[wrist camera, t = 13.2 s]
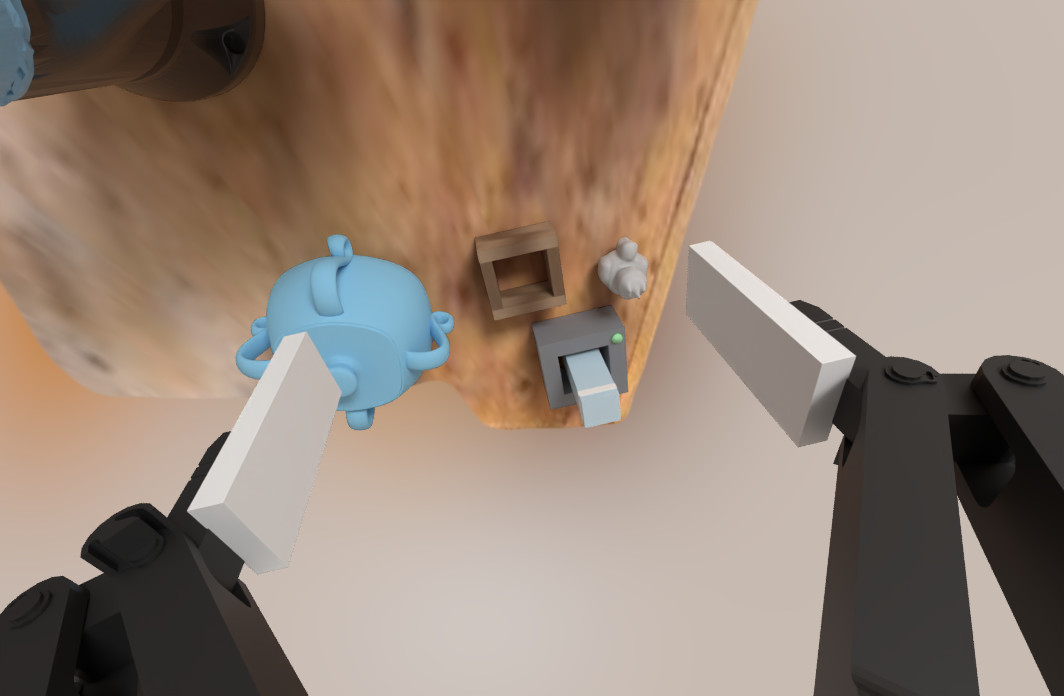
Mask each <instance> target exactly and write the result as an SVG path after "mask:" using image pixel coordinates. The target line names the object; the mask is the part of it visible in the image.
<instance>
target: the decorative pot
mask: <svg viewBox="0 0 1064 696" xmlns="http://www.w3.org/2000/svg"><path fill="white" fill-rule="evenodd" d="M327 243H328V247H329V250H330V253H331V256H326V257H320V258H317V259H313V260H309V261H306V262H304V263H301V264H299V265H297V266H295V267H292V268H290V269H289V270H287V271H286V272H285V273H283V274H282V275H281V276H280V277H279V279H278V280H277V281H276V283H275V285H274V287H273V289H272V291H271V294H270V296H269V301H268V306H267V314H266V317H261V318H258V319H256V320H255V321H254V322H253V323H252V325H251V333H252V335H253V337H252V338H251V339H249V340H248V341H247V342H245V343H244V344H243V345H242V346H241V347H240V348H239V350H238V351H237V354H236V364H237V366H238V368H239V370H240V371H241V372H242V373H243V374H244V375H246V376H248V377H250V378H253V379H259V380H260V379H261V377H262V375H263V373H264V371H265V370H266V368H267V366H268V364H269V362H270V361H271V360H264V361H255V360H254V359H255V358H257V357H258V356H259V355H260V354H261V353H263V352H264V351H265V350H267V349H268V348H269V347H270V346H271V349H272V353H273V355H274V353H275V352H276V350H277V348H278V346H279V344H280V343H281V341H282V339H283V337H284V336H289V335H293V334H298V333H302V332H307V333H308V335H309V336H310V338H311V340H312V342H313V343H314V345H315V347H316V349H317V350H318V352H319V354H320V355H321V357H322V359H323V361H324V362H325V364H326V366H327V367H328V369H329V371H330V373H331V374H332V376H333V378H334V380H335V381H336V383H337V385H338V386H339V388H340V390H341V392H342V393H341V396H340V399H339V403H338V406H337V409H336V411H346V418H347V422H348V425H349V427H350V428H352V429H354V430H365V429H368V428H370V427H371V426H372V423H373V418H374V410H375V407H378V406H381V405H384V404H387V403H389V402H392V401H393V400H395V399H397V398H398V397H399V396H401V395H402V394H403V393H404V392H405V391H406V390H408V389H409V388H410V387H411V386H412V385H413V384H414V383H415V382H416V381H417V379H418V378H419V377H420V375H421V374H422V372H423V371H424V370H430V369H434V368H437V367H439V366H441V365H442V364H444V363H445V362H446V360H447V359H448V357H449V353H450V345H449V341H448V338H447V336H446V335H445V334H448V333H450V332H451V331H452V329H453V327H454V319H453V317H452V316H451V315H450V314H448V313H446V312H442V311H436V312H433V313H432V310H431V306H430V302H429V299H428V296H427V293H426V290H425V288H424V287H423V285H422V283H421V282H420V280H419V279H418V278H417V277H416V276H415V275H414V274H413V273H412V272H410V271H409V270H407V269H406V268H404V267H402V266H400V265H398V264H395V263H392V262H390V261H386V260H382V259H379V258H373V257H368V256H360V255H353V250H352V246H351V243H350V241H349V239H348V238H347V237H346V236H343V235H339V234H335V235H331V236H329V237H328V239H327ZM433 338H434V340H435V341H436V343H437V345H438V346H439V348H437V349H435V350H433V351H431V349H432V342H433Z"/></svg>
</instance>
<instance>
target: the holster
mask: <svg viewBox="0 0 1064 696" xmlns="http://www.w3.org/2000/svg"><path fill="white" fill-rule="evenodd" d="M475 241H476V250H477V255H478V259H479V263H480V267H481V270H482V274H483V278H484V282H485V286H486V289H487V293H488V297H489V301H490V305H491V308H492V312H493V316H494V320H499V319H504V318H508V317H513V316H517V315H522V314H526V313H530V312H535V311H539V310H544V309H548V308H552V307H557V306H561V305H566V304H567V303H566V296H565V289H564V282H563V275H562V268H561V261H560V254H559V247H558V240H557V235H556V233H555V231H554V229H553V227H552V225H551V223H550V221H548V222H543V223H539V224H534V225H530V226H525V227H521V228H516V229H512V230H507V231H503V232H498V233H494V234H489V235H485V236H480V237H476V238H475ZM540 250H543V255H544V261H545V267H546V273H547V279H548V281H543V282H539V283H534V284H530V285H525V286H521V287H516V288H512V289H507V290H503V291H500V289H499V285H498V281H497V277H496V273H495V269H494V265H493V261H495V260H500V259H504V258H509V257H513V256H518V255H522V254H526V253H531V252H535V251H540Z"/></svg>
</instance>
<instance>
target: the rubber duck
mask: <svg viewBox="0 0 1064 696" xmlns="http://www.w3.org/2000/svg"><path fill="white" fill-rule="evenodd" d="M637 249H638V246H637V244H636V243H635V242H633V241H630V240H629V239H628V238H627V237H623V238H621V239H620V240H619V241H618V242H617V245H616V250H613V251H611V252H609V253H608V254H607V255H605V256H602V257H601V258H600V259H599V264H598V275H599V278H600V280H601V281H602V282H603V283H604V284H605V285H606V286H607V287H608V288H609V289H610V290H611V291H612V292H613V293H614V294H620V295H621V297H622V298H624V299H632V298H636V297H637V298H638V299H640V295H641V294H642V293H644V292H645V289H646V286H647V278H646V274H647V270H648V264H649V263H648V260H647V259H646V258H645V257H644V256H642V255H641V254H639V253H638V252H637Z"/></svg>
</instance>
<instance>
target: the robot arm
mask: <svg viewBox="0 0 1064 696" xmlns="http://www.w3.org/2000/svg"><path fill="white" fill-rule="evenodd" d="M264 29H265V11H264V1H263V0H0V106H5V105H7V104H8V103H10V102H11V101H17V100H23V99H29V98H35V97H41V96H48V95H54V94H60V93H66V92H72V91H78V90H84V89H90V88H97V87H103V86H109V85H114V86H117V87H120V88H122V89H125V90H127V91H130V92H133V93H136V94H138V95H141V96H145V97H148V98H153V99H158V100H164V101H175V102H187V101H196V100H202V99H206V98H209V97H213V96H217V95H220V94H222V93H225V92H227V91H229V90H230V89H232V88H234V87H235V86H236V85H238V84H239V83H240V82H241V81H242V80H243V79H244V78H245V77H246V76H247V75H248V74H249V72H250V71H251V70H252V68H253V66H254V65H255V63H256V61H257V59H258V56H259V54H260V50H261V47H262V43H263V38H264ZM686 314H687V316H688V317H689V318H690V319H691V320H692V322H693V323H694V324H695V325H696V326H697V327H698V329H699V330H700V331H701V332H702V334H703V335H704V336H705V337H706V338H707V340H708V341H709V342H710V343H711V344H712V345H713V346H714V348H715V349H716V350H717V351H718V353H719V354H720V355H721V356H722V357H723V358H724V360H725V361H726V362H727V363H728V365H730V367H731V368H732V369H733V370H734V372H735V373H736V374H737V375H738V376H739V378H740V379H741V380H742V381H743V382H744V384H745V385H746V386H747V387H748V388H749V389H750V391H751V392H752V393H753V394H754V395H755V397H756V398H757V399H758V400H759V401H760V403H761V404H762V405H763V406H764V407H765V409H766V410H767V411H768V412H769V413H770V415H771V416H772V417H773V418H774V419H775V420H776V422H777V423H778V424H779V425H780V426H781V427H782V429H783V430H784V431H785V432H786V434H787V435H788V436H789V437H790V438H791V440H792V441H793V442H794V443H795V444H796V445H797V447H801V446H805V445H810V444H814V443H818V442H822V441H826V440H827V439H828V436H829V433H830V430H831V427H832V424H834V425H835V426H836V427H837V428H838V429H839V430H840V431H841V432H842V433H843V434H844V436H843V439H842V442H841V444H840V447H839V450H838V452H837V455H836V458H835V460H834V463H833V464H836V465H838V473H837V483H836V492H835V502H834V510H833V519H832V529H831V538H830V547H829V557H828V566H827V576H826V585H825V594H824V603H823V613H822V623H821V631H820V642H819V650H818V660H817V669H816V679H815V688H814V696H980V695H979V686H978V677H977V668H976V659H975V650H974V641H973V632H972V623H971V615H970V607H969V597H968V588H967V579H966V571H965V561H964V552H963V544H962V535H961V526H960V517H959V508H958V499H957V496H958V498H959V500H960V502H961V504H962V506H963V508H964V511H965V513H966V515H967V517H968V519H969V521H970V523H971V525H972V527H973V530H974V532H975V534H976V536H977V538H978V540H979V542H980V545H981V547H982V549H983V551H984V553H985V555H986V557H987V560H988V562H989V564H990V566H991V568H992V570H993V572H994V574H995V577H996V578H997V581H998V583H999V585H1000V587H1001V589H1002V591H1003V593H1004V596H1005V598H1006V600H1007V602H1008V604H1009V606H1010V608H1011V611H1012V613H1013V615H1014V617H1015V619H1016V621H1017V623H1018V626H1019V628H1020V630H1021V632H1022V634H1023V636H1024V638H1025V640H1026V643H1027V645H1028V647H1029V649H1030V651H1031V653H1032V655H1033V657H1034V660H1035V662H1036V664H1037V666H1038V668H1039V670H1040V672H1041V675H1042V676H1043V679H1044V681H1045V683H1046V685H1047V687H1048V689H1049V691H1050V694H1051V696H1064V375H1063V374H1061V373H1060V372H1059V371H1057V370H1056V369H1054V368H1052V367H1050V366H1048V365H1046V364H1044V363H1042V362H1039V361H1036V360H1032V359H1029V358H1025V357H1017V356H1010V355H1005V356H1004V355H1003V356H993V357H990V358H988V359H985V360H984V362H983V363H982V365H981V366H980V368H979V370H978V372H977V373H976V374H939V373H938V372H937V371H936V370H934V369H933V368H932V367H930V366H928V365H926V364H924V363H922V362H920V361H917V360H912V359H909V358H904V357H885V356H883V355H882V354H881V353H880V352H878V351H877V350H876V349H874V348H873V347H872V346H870V345H869V344H868V343H866V342H865V341H863V340H862V339H861V338H859V337H858V336H857V335H855V334H854V333H853V332H851V331H850V330H849V329H847V328H844V326H843V325H842V324H840V323H839V322H838V321H837V320H833V318H832V317H831V316H830V315H829V314H827V313H826V312H824V311H823V310H822V309H820V308H819V307H817V306H814V305H812V304H809V303H806V302H804V301H801V300H798V301H793V302H787V301H786V300H785V299H784V298H782V297H781V296H780V295H779V294H777V293H776V292H775V291H774V290H772V289H771V288H770V287H769V286H767V285H766V284H765V283H764V282H762V281H761V280H760V279H758V278H757V277H756V276H755V275H753V274H752V273H751V272H750V271H748V270H747V269H746V268H745V267H743V266H742V265H741V264H740V263H738V262H737V261H736V260H735V259H733V258H732V257H731V256H730V255H728V254H727V253H726V252H724V251H723V250H722V249H721V248H719V247H718V246H717V245H716V244H714V243H713V242H712V241H707V242H703V243H698V244H694V245H690V246H689V256H688V277H687V299H686ZM341 393H342V392H341V390H340V388H339V386H338V385H337V383H336V381H335V380H334V378H333V376H332V374H331V373H330V371H329V369H328V367H327V366H326V364H325V362H324V361H323V359H322V357H321V355H320V354H319V352H318V350H317V349H316V347H315V345H314V343H313V342H312V340H311V338H310V336H309V335H308V333H307V332H302V333H298V334H293V335H289V336H284V337H283V339H282V341H281V343H280V344H279V346H278V348H277V350H276V352H275V353H274V355H273V357H272V359H271V361H270V362H269V364H268V366H267V368H266V370H265V371H264V373H263V375H262V377H261V379H260V381H259V382H258V384H257V386H256V388H255V390H254V391H253V393H252V395H251V397H250V399H249V400H248V402H247V404H246V406H245V408H244V409H243V411H242V413H241V415H240V417H239V418H238V421H237V422H236V424H235V426H234V427H233V429H232V431H229V432H225V433H223V434H222V435H221V436H220V437H219V438H218V439H217V440H216V441H215V442H214V443H213V444H212V445H211V446H210V447H209V448H208V449H207V451H206V453H205V454H204V456H203V458H202V459H201V461H200V463H199V467H197V468H196V470H195V471H194V473H193V475H192V476H191V480H190V481H189V482H188V483H187V485H186V486H185V488H184V490H183V492H182V493H181V495H180V497H179V499H178V500H177V502H176V504H175V505H174V507H173V509H172V510H171V512H170V514H169V515H168V517H165V516H164V515H163V514H162V513H161V512H159V511H158V510H157V509H156V508H155V507H153V506H152V505H151V504H150V503H140V504H136V505H133V506H130V507H127V508H125V509H123V510H121V511H120V512H118V513H116V514H114V515H113V516H111V517H110V518H109V519H107V520H106V521H105V522H103V523H102V524H101V525H100V526H99V527H98V528H97V529H96V530H95V531H94V532H93V533H92V534H91V535H90V536H89V537H88V539H87V540H86V542H85V544H84V545H83V547H82V550H81V558H82V559H84V560H85V561H87V562H88V563H90V564H92V565H93V566H94V567H96V568H98V569H99V570H101V571H102V572H104V573H103V574H101V575H99V576H97V577H95V578H93V579H91V580H89V581H87V582H85V583H82V584H80V585H77V584H76V583H74V582H73V581H71V580H69V579H68V578H66V577H64V576H59V577H51V578H49V579H47V580H44V581H42V582H40V583H37V584H36V585H35V586H33V587H31V588H30V589H28V590H27V591H25V592H23V593H22V594H21V595H19V596H18V597H17V598H16V599H14V600H13V601H12V602H11V603H10V604H9V605H8V606H7V607H6V608H5V609H4V611H3V612H2V613H1V614H0V696H308V694H307V692H306V690H305V688H304V687H303V685H302V683H301V681H300V680H299V678H298V676H297V674H296V673H295V671H294V669H293V667H292V666H291V664H290V662H289V660H288V659H287V657H286V655H285V654H284V652H283V650H282V648H281V646H280V644H279V643H278V641H277V639H276V637H275V636H274V634H273V632H272V630H271V629H270V627H269V625H268V624H267V622H266V620H265V618H264V616H263V615H262V613H261V611H260V609H259V607H258V606H257V604H256V602H255V600H254V599H253V597H252V595H251V593H250V592H249V590H248V588H247V587H246V585H245V584H244V583H243V582H242V581H241V580H240V579H238V577H239V574H240V572H241V569H242V566H243V564H244V563H245V564H246V565H247V566H249V568H251V569H252V570H253V571H254V572H255V573H256V574H262V573H266V572H270V571H275V570H279V569H283V568H287V567H288V565H289V562H290V559H291V556H292V552H293V549H294V546H295V542H296V539H297V536H298V533H299V529H300V526H301V523H302V520H303V517H304V513H305V510H306V507H307V504H308V500H309V497H310V494H311V491H312V487H313V484H314V481H315V478H316V474H317V471H318V468H319V464H320V461H321V458H322V455H323V451H324V448H325V445H326V442H327V438H328V435H329V432H330V428H331V425H332V422H333V419H334V416H335V412H336V409H337V406H338V403H339V399H340V396H341Z"/></svg>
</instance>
